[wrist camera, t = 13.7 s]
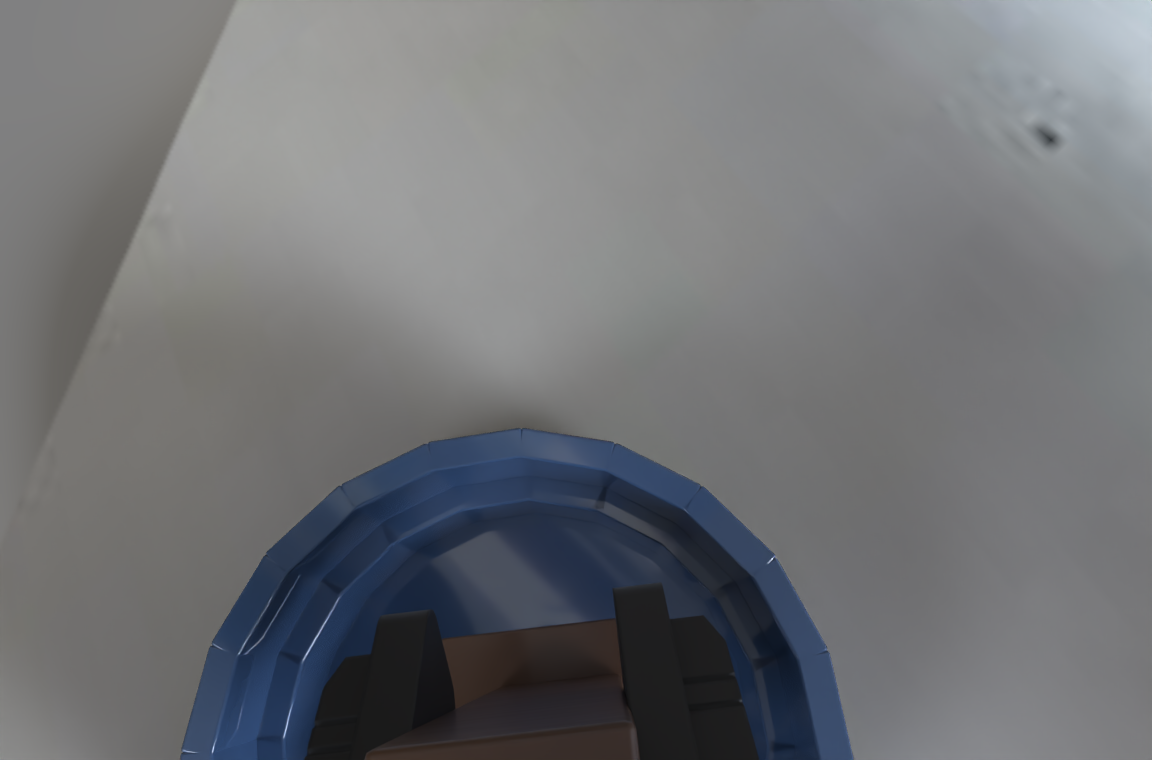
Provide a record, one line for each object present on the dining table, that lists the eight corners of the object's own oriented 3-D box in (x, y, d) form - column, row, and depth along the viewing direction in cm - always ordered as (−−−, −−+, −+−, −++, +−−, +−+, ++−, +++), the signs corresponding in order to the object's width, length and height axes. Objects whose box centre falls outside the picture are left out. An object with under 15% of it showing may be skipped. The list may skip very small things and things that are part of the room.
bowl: (397, 1150, 22) (325, 1329, 17) (206, 608, 27) (96, 602, 21) (898, 862, 24) (989, 935, 18) (641, 393, 28) (651, 332, 22)
